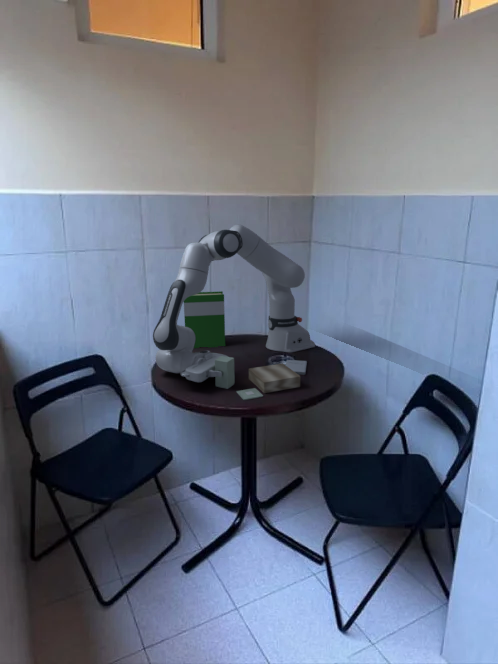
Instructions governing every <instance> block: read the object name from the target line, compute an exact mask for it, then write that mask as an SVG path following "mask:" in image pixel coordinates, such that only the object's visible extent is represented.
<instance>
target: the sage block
mask: <svg viewBox="0 0 498 664" xmlns="http://www.w3.org/2000/svg"><path fill="white" fill-rule="evenodd" d="M227 356H228V355H226V356H221V357H219V358H217V359H216V360H215V371H219V370H220V371H223V376H221V377H218V376H216V377H215V378H214V379H215V381H214V382H215V387H216V388H217V387H218V388H222V389H227V390H228V389H230V388H231V387H232V386H234V385H235V380H236V379H235V377H236V376H235V357H232V356H228V357H227Z"/></svg>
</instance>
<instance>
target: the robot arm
mask: <svg viewBox="0 0 498 664" xmlns="http://www.w3.org/2000/svg"><path fill="white" fill-rule="evenodd" d="M236 254H237V255H239V256H240V258H242V259H243V260H244V261H246V262H247V263H249V264H250V265H251V266H252V267H253V268H255V269H256V270H258V271H260V272H261V273H262V276H263V277H264V279H265V283H266V288H267V293H268V301H269V315H268V319H267V320H268V323H267V325H268V334H267V335H268V336H267V340H266V344H265V347H266V348H267V349H268V350H271V351H276V352H285V353H295V352H299V351H304V350H307V349H310V348H311V349H312V348H315V347H316V343H315V342H314V341H313V340H311V336H310V333H309V331H308V330H307V329H306V328H304V327H303V326H302V325H301V324H299V323H301V322H302V321H303V318H302V317H301V316H297V315H295V309H296V307H295V306H296V304H295V303H296V300H295V296H294V294H293V292H292V289H294V288H295V289H296V288H298V287H300V286H301V285H302V284H303V283H304V280H305V275H306V274H305V270H304V268H303V267H302V266H301V265H300V264H298V263H297V262H295V261H294V260H292V259H291V258H290V257H288V256H286V255H285V254H283V253H282V252H281V251H279V250H278V249H276V248H274V247H273V246H271V245H270V244H269V243H268V242H267V241H265V240H264V239H263V238H261V236H259V234H257V233H255V232H254V231H252V230H251V229H250V228H248V227H246V226H244V225H243V224H234V225H232V227H230V228H228V229H221V230H216V231H213V232H211V233H208V234H205V235H203V236H202V237H201V238H200V239H199V240H198V242H197V241H196V242H191V243H188V244H187V245H186V247H185V249H184V250H183V254H182V257H181V260H180V264H179V268H178V272H177V276H176V278H175V280H174V282H172V284H171V285H170V287H169V291H168V293H167V296H166V299H165V302H164V304H163V307H162V311H161V314H160V317H159V319H158V321H157V323H156V326H155V327H154V329H153V331H152V340H153V343H154V345H155V347H156V348H158V350H157V351H156V354H155V362H156V365H157V366H158V367H159V368H160V369H161V370H163V371H164V372H165V371H166V372H169V373H173V374H180V376H181V377H183V378H184V377H185V379H186V380H188V381H192V382H194V383H202V382H204V381H206V380H207V379H209V378H214V377H216V376H218V377H221V376H223V371H220V370H219V371H215V360H216V359H217V358H219V357H221V356H227V357H229V356H228V355H226V354H222V353H217V352H211V351H210V350H203V351H195V352H194V349H195V348H194V345H195V341H196V336H195V333H194V331H193V330H192V329H191V328H189V327H185V325H179V324H178V320H179V316H180V313H181V310H182V306H183V305H184V300H185V299H186V298H188V297H189V296H192V295H196V294H198V293H200V292H203V290H205V288H206V287H205V286H206V284H207V280H208V276H209V275H208V274H209V269H210V265H211V263H212V262H213V261H221V260H225V259H228V258H232V257H234V256H235V255H236ZM291 288H292V289H291Z"/></svg>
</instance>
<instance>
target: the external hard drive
mask: <svg viewBox="0 0 498 664" xmlns="http://www.w3.org/2000/svg"><path fill="white" fill-rule="evenodd" d="M307 363H308V362H307V360H295V359H286V362H285V365H286V366H287V367H288V368H290V369H291V370H293V371H294V372H295V373H297V374H298V375H300V376H301V375H303V376H304V375H306V371H307V366H308V365H307Z"/></svg>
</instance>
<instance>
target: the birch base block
mask: <svg viewBox="0 0 498 664" xmlns="http://www.w3.org/2000/svg"><path fill="white" fill-rule="evenodd" d="M248 380H249V381H251V383H253V385H255V386H256V387H257V388H258V389H259V390H260V391H261V392H262V393H263V394H266V393H267V394H268V393H273V392H274V393H275V392H278V391H283V390H289V389H296V388H300V387H301V375H300V374H297V373H295V372H294V371H293V370H291V369H290V368H288V367H287V366H286V364H284V363H276V364H271V365H264V366H263V365H262V366H257V367H251V368H248Z"/></svg>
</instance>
